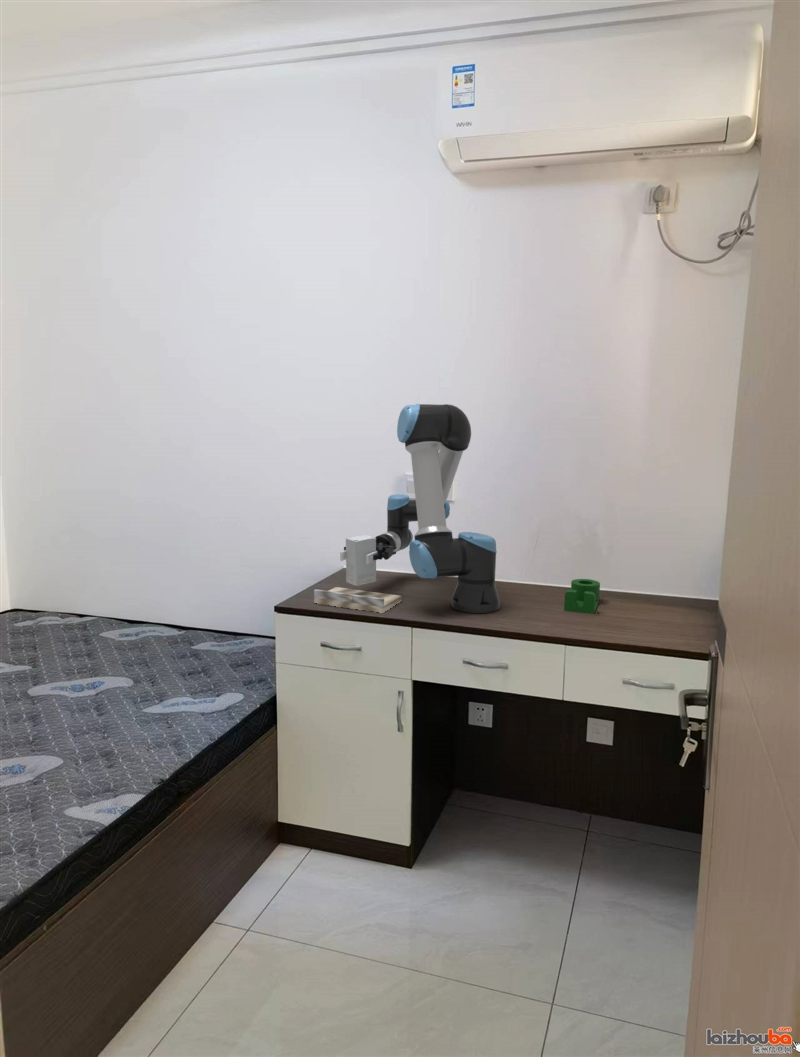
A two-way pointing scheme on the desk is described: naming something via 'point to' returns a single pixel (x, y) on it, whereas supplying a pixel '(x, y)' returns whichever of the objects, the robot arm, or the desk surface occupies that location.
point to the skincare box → (360, 560)
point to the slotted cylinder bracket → (582, 596)
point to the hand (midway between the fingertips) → (354, 557)
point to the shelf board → (356, 599)
